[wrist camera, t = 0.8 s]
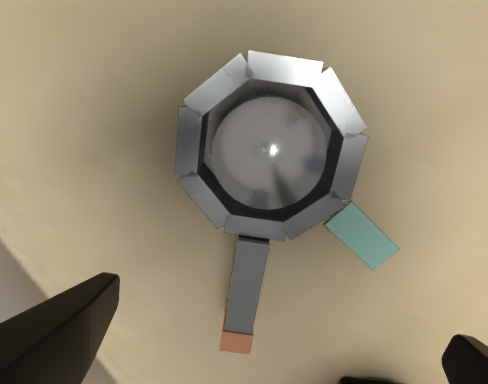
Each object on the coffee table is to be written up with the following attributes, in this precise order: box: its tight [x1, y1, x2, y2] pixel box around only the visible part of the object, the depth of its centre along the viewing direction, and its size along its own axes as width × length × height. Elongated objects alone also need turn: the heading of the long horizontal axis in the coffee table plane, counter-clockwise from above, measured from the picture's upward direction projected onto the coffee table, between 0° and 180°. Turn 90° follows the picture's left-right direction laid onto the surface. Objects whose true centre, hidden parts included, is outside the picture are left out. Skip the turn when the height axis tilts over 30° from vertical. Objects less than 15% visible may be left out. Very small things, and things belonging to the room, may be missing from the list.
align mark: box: [324, 201, 399, 270], centre depth 21 cm, size 5×2×1 cm, turn 47°
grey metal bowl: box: [204, 61, 332, 209], centre depth 17 cm, size 10×10×4 cm
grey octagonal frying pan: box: [175, 50, 368, 354], centre depth 18 cm, size 18×10×3 cm, turn 172°
